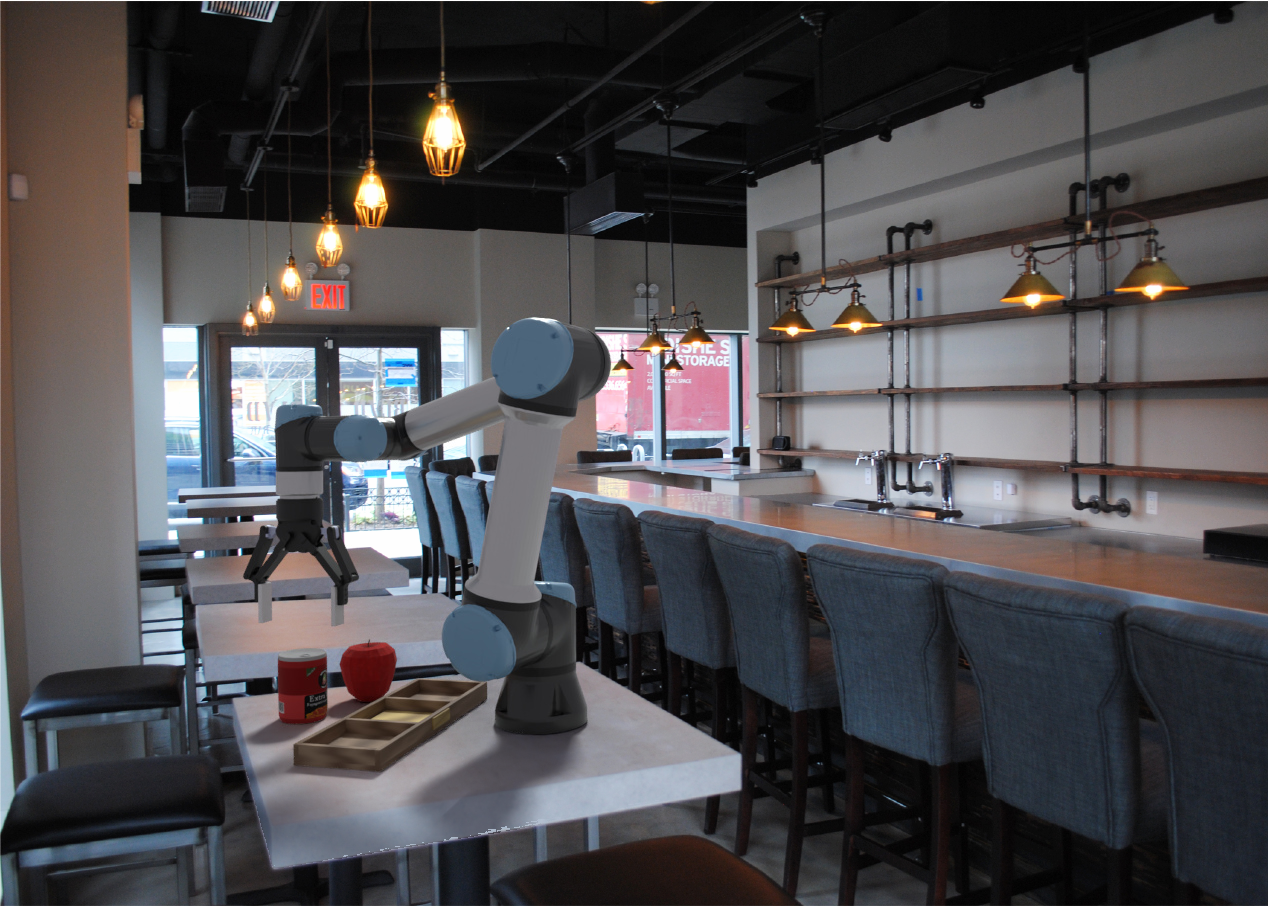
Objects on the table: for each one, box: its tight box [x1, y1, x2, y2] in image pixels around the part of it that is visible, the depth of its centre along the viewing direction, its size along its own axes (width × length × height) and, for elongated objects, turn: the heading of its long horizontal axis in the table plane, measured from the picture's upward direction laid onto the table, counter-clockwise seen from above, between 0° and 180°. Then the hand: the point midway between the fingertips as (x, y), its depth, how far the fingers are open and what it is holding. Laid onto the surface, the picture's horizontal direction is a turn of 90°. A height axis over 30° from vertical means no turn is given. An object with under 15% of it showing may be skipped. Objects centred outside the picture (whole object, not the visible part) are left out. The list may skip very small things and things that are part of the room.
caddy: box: [292, 677, 488, 773], centre depth 154 cm, size 14×39×3 cm, turn 167°
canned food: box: [277, 647, 329, 725], centre depth 161 cm, size 8×8×11 cm
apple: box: [339, 639, 398, 703], centre depth 172 cm, size 10×10×11 cm
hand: (301, 623), depth 161 cm, fingers open, 13 cm apart
